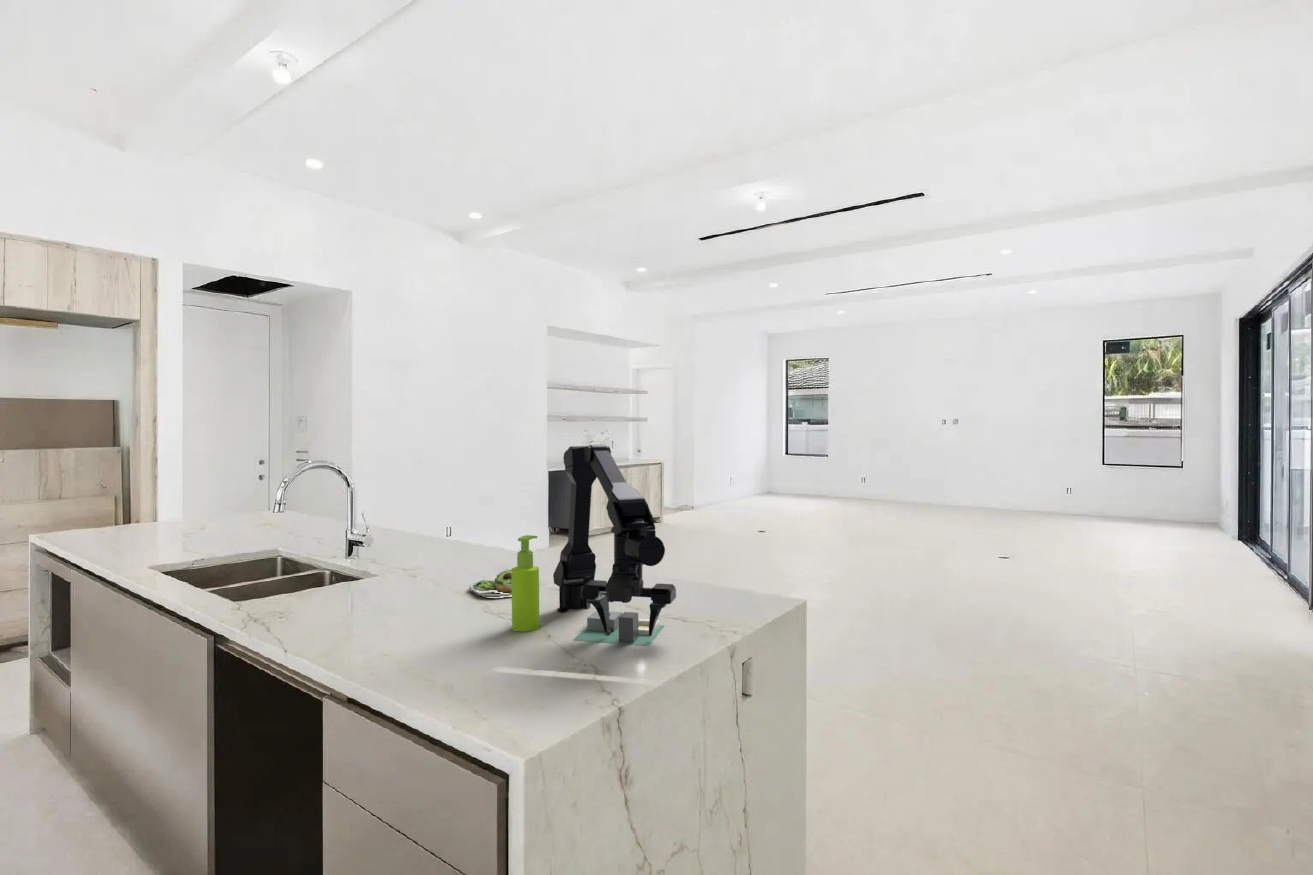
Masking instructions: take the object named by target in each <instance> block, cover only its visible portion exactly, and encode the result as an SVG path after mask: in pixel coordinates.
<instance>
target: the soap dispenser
mask: <svg viewBox="0 0 1313 875" xmlns="http://www.w3.org/2000/svg"><path fill="white" fill-rule="evenodd" d="M532 539H533V540H534V539H538V535H531V534H530V535H528V534H525V535H522V536H520V537H518V538H517V541H518V542H520V550H519V551H518V552H517V553H516V557H517V558H516V560H517V561H516V562H517V563H516V564H517V565H516V566H514V567H512V568H511V570H512V597H511V629H512V630H513V631H515V632H532V631H533V632H534V631H536V630H538V629H539V628H540V567H539V566H538V565H537V566H536V565H534V552H533V551H531V550H530V540H532Z"/></svg>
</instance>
